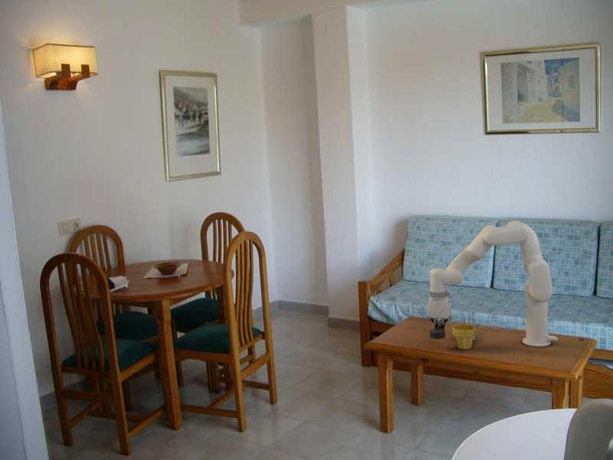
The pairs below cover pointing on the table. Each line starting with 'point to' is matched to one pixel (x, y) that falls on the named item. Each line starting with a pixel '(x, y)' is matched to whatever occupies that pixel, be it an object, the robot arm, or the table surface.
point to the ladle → (438, 332)
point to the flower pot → (463, 335)
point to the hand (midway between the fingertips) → (439, 331)
